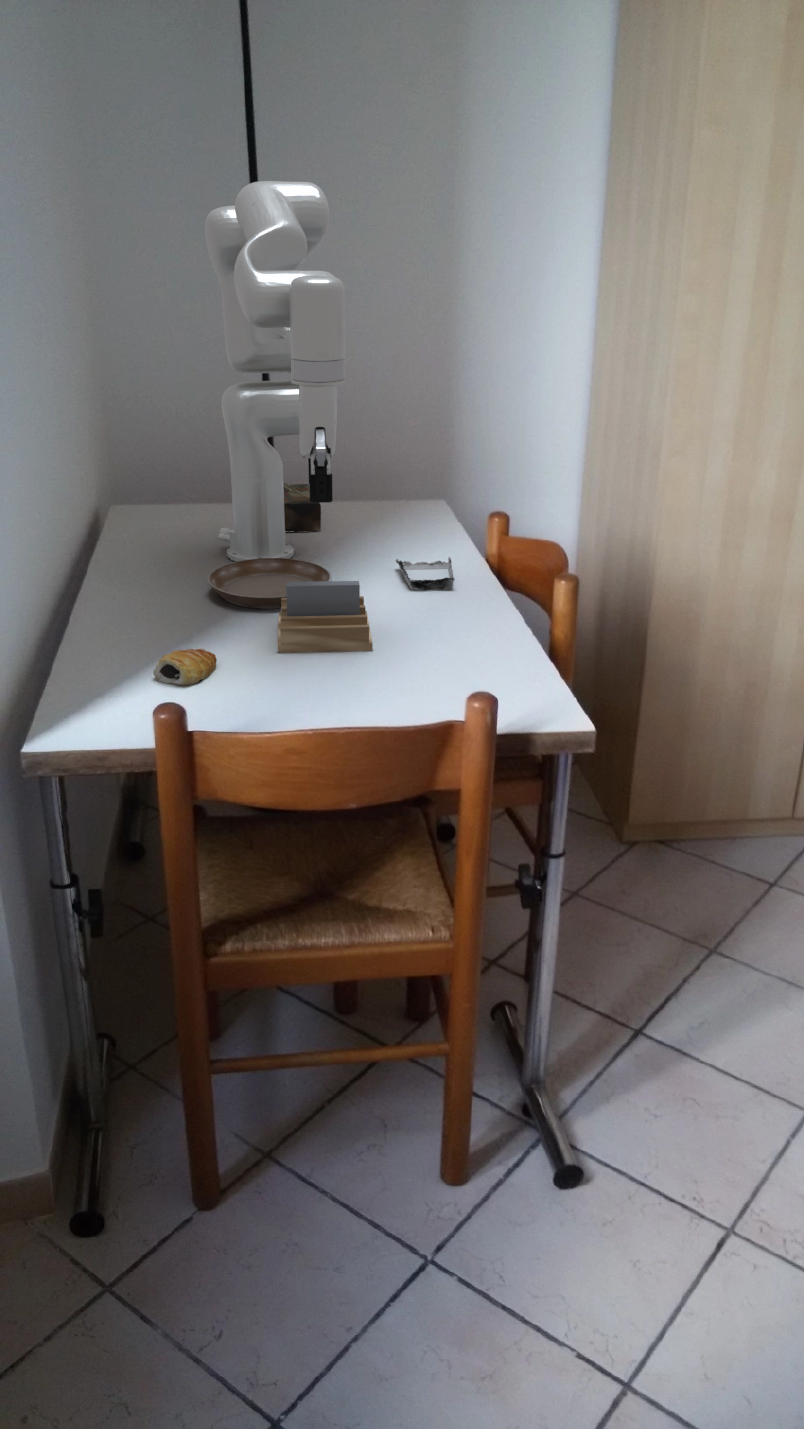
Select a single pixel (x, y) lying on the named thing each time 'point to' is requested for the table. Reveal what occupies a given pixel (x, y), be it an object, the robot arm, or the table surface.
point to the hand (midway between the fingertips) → (320, 493)
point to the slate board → (323, 598)
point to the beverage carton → (300, 509)
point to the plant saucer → (263, 580)
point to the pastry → (185, 666)
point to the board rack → (323, 632)
